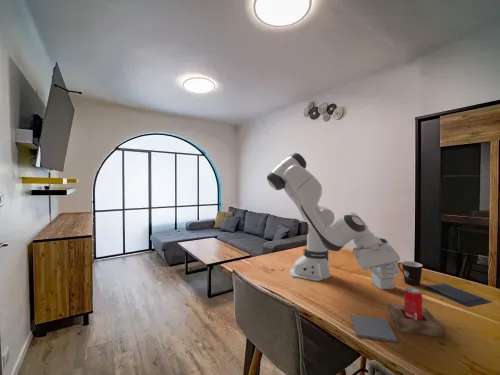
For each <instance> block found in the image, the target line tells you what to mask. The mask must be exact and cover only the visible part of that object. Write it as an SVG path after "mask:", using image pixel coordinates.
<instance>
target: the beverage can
mask: <svg viewBox="0 0 500 375" xmlns="http://www.w3.org/2000/svg"><path fill="white" fill-rule="evenodd" d="M404 306H405V317H406V319H413V320H421V321H422V308H423V293H422V291H421V290H420V289H418V288H415V287H405V290H404Z"/></svg>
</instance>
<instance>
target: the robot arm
mask: <svg viewBox="0 0 500 375" xmlns="http://www.w3.org/2000/svg"><path fill="white" fill-rule="evenodd" d="M306 168H307V161H306V159H305V157H303V156H302V155H301V154H300V153H297V152H294V153H292V154H290V155H289V156H288V157H286V158H285V159H283V160H282V161H281V162H280V163H278V165H277V166H276V167H275V168H274V169H272V171H270V172H269V173H268V174H267V177H266V180H267V183H268V185H269V186H270V187H271V188H272V189H273V190H276V191H281V190H284V192H285V193H286V194H287V195H288V196H287V197H288V198H290V199H291V201H292V202H293V204H294V205H295V206H296V207H297V209H298V211H299V214H300V215H301V217H302V219H303V220H304V221H305V222H306V223H309V224H310V227H309V232H308V233H307V235H306V247H303V249H302V251H303V255H302V256H300V257H299V258H297V259H296V260H295V261H294V263H293V267H291V268H290V269H289V275H290V276H291V277H293V278H298V279H304V280H310V281H316V282H320V281H323V280H327V279H329V278H330V277H331V276H332V274H331V272H330V271H331V270H330V266H329V256H330V254H329V251H332V252H340V250H342V248H344V247H345V246H346V245H347V244H348V243H350V242H351V241H352V240H353V242H354V245H355V247H353V248H352V254H353V255H354V257H355V258H354V259H355V260H356V262H357V264H358V266H359V268H360V269H361V270H362V271H368V270H369V271H370V273H371V272H373V273H374V274H375V275H377V277H378V278H379V279H382V278H384V275H383V273H380V272H379V271H378V270H377V268H378V267H382V266H387V265H390V266H391V267H393V270H394V271H393V273H394V276H399V275H400V274H401V273H402V271H401V270H400V269H399V267H398V263H399V262H400V261H401V258H400V256H399V253H398V252H397V251H396V250H395V248H394V247H393V246H392V245H391V244H389V241H388V240H387V239H386V238H383V237H378V236H375V235H374V233H373V232H372V231H370V229H369V227H368V225H367V224H366V223H365V221H364V220H363V219H362V218H361V217H360V216H359V215H358V214H357V213H356V212H354V211H353V212H352V211H350V212H346V213H345V214H343V215H342V216H341V217H340V218H339V219H337V220H336V222H335V213H334V212H333V211H332V210H331V209H329V208H328V207H326V206H322V205H321V206H320V205H318V204H319V202H320V199H321V197H322V194H323V188H322V187H323V186H322V184H321V182H320V181H319V180H318V179H317V178H316V177H315V176H314V175H313V174H312V173H311V172H310V171H308V170H307V169H306Z"/></svg>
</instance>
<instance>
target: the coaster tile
mask: <svg viewBox="0 0 500 375" xmlns="http://www.w3.org/2000/svg"><path fill="white" fill-rule="evenodd" d="M350 316H351V320H352V323H353V327H354V331H355V335H356V337H358V338H364V339H369V340H370V339H372V340H378V341H385V342H386V341H387V342H392V343H398V338H397V336H396V334H395V333H394V332H395V331H393V328H392V327H391V325H390V323H389V322H388V320H387V319H386V318H382V317H381V318H379V317H372V316H371V317H370V316H363V315H356V314H351V315H350Z"/></svg>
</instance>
